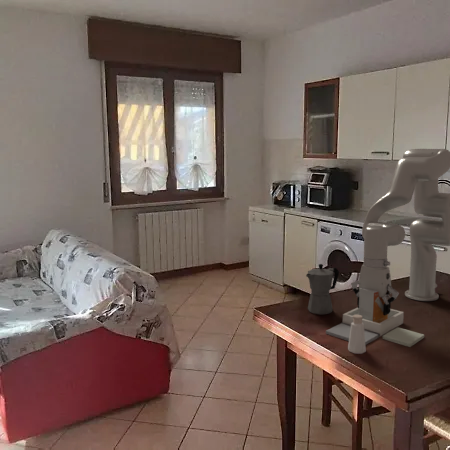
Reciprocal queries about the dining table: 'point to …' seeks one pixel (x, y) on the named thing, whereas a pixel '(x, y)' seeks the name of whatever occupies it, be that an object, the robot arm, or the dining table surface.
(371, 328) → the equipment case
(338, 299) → the dining table surface
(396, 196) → the robot arm
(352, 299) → the dining table surface
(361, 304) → the small box
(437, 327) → the dining table surface
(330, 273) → the coffeepot
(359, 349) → the pepper shaker
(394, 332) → the rubber mat
